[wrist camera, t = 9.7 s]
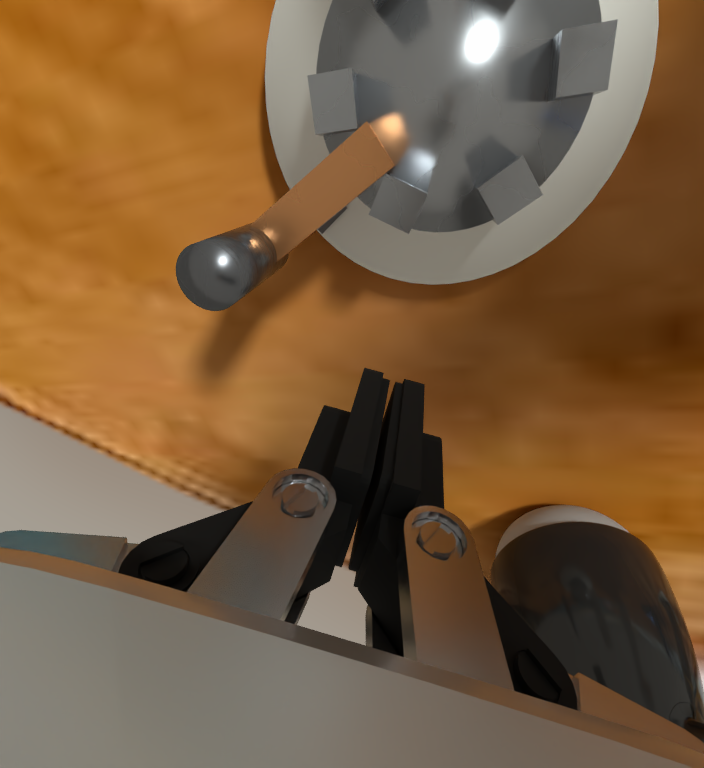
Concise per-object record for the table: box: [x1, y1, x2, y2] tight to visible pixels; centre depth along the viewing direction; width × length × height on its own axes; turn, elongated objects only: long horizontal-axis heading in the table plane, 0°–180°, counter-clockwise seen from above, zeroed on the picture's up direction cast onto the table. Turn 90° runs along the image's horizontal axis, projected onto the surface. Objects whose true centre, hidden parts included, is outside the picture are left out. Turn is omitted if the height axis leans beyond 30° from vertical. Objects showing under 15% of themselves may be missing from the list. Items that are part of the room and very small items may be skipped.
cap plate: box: [265, 0, 659, 285], centre depth 18 cm, size 16×16×2 cm
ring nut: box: [176, 0, 618, 311], centre depth 15 cm, size 16×10×8 cm, turn 127°
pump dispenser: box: [491, 505, 704, 743], centre depth 23 cm, size 10×10×15 cm
